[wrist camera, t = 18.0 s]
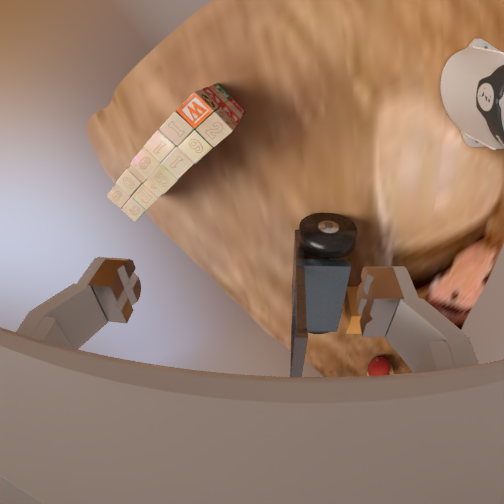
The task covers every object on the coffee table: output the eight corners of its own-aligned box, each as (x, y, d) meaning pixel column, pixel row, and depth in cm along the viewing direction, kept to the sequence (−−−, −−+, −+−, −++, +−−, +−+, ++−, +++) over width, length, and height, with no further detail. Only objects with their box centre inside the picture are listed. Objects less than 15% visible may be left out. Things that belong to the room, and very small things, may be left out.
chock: (370, 286, 59) (377, 316, 52) (365, 304, 62) (371, 333, 55) (346, 286, 59) (351, 316, 53) (342, 303, 62) (346, 333, 56)
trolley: (352, 211, 49) (384, 318, 31) (336, 301, 62) (347, 403, 43) (295, 209, 50) (297, 317, 32) (290, 300, 63) (287, 404, 44)
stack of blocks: (155, 195, 51) (126, 234, 41) (130, 171, 49) (94, 205, 39) (247, 111, 42) (233, 131, 32) (217, 81, 39) (194, 91, 29)
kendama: (394, 376, 80) (394, 351, 69) (393, 395, 76) (394, 374, 65) (369, 377, 84) (365, 353, 72) (368, 396, 80) (363, 376, 68)
